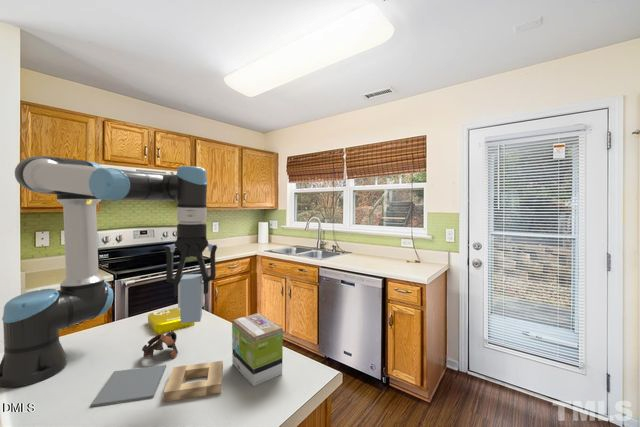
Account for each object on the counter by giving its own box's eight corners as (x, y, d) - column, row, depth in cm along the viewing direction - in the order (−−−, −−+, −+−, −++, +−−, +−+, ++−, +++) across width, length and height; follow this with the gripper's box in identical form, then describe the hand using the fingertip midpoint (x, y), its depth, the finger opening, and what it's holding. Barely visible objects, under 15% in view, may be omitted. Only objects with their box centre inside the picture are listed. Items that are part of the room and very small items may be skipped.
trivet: (90, 407, 73) (90, 404, 73) (114, 373, 88) (114, 371, 88) (153, 397, 77) (153, 395, 77) (166, 366, 92) (166, 364, 92)
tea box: (230, 364, 94) (231, 318, 93) (259, 354, 100) (259, 311, 99) (253, 388, 82) (253, 335, 81) (283, 374, 89) (284, 326, 88)
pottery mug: (171, 365, 93) (156, 346, 91) (147, 375, 95) (132, 356, 93) (189, 339, 105) (176, 321, 103) (168, 348, 107) (154, 330, 105)
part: (180, 323, 80) (180, 279, 79) (183, 316, 84) (183, 274, 84) (200, 321, 81) (200, 278, 81) (201, 314, 86) (202, 274, 85)
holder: (163, 401, 76) (163, 392, 76) (173, 375, 87) (173, 367, 87) (221, 392, 80) (221, 383, 80) (222, 368, 91) (222, 360, 91)
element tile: (155, 336, 113) (155, 324, 113) (146, 324, 124) (146, 312, 124) (195, 326, 123) (195, 314, 123) (184, 315, 134) (184, 304, 134)
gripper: (152, 223, 76) (151, 313, 76) (225, 224, 81) (224, 307, 82) (159, 221, 83) (158, 303, 84) (226, 222, 88) (225, 299, 89)
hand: (191, 305), depth 83 cm, fingers closed on part, 5 cm apart
